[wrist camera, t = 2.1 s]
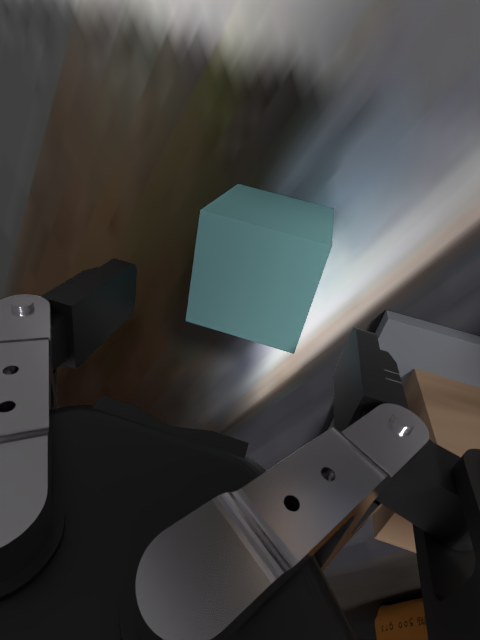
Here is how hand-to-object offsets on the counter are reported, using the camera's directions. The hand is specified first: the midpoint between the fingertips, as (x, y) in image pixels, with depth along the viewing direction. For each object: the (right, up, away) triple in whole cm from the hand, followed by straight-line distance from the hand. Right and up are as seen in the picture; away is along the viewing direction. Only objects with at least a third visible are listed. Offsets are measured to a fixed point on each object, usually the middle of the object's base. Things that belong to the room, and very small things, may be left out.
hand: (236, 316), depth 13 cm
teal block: (+2, +4, +7) cm, 8 cm away
